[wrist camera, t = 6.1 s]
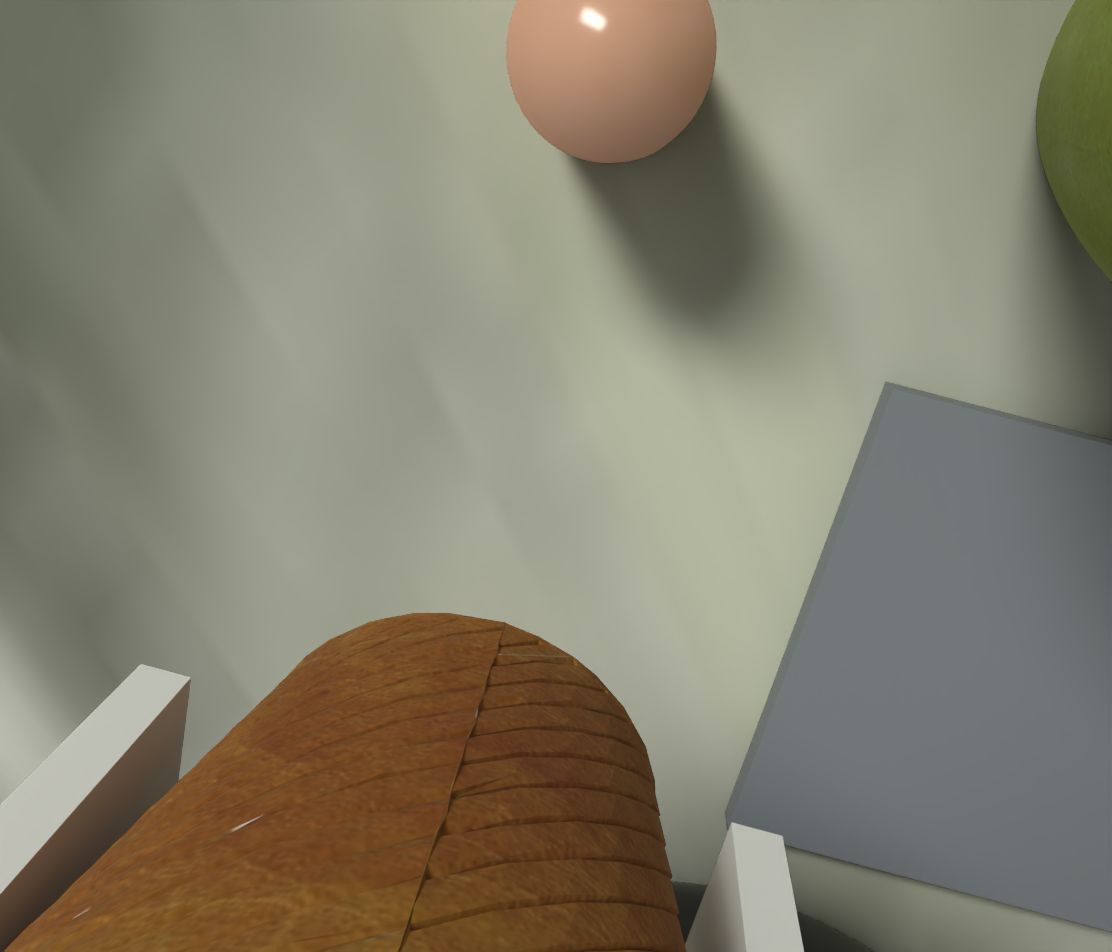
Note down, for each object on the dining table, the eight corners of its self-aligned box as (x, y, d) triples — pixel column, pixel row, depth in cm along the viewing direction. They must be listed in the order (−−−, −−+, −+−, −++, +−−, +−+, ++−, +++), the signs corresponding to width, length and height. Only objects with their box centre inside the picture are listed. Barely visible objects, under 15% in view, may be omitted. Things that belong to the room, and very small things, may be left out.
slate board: (885, 381, 31) (892, 388, 30) (1356, 504, 31) (1378, 515, 30) (725, 812, 37) (727, 829, 36) (1118, 917, 37) (1131, 937, 36)
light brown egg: (560, -32, 28) (532, -90, 22) (721, 9, 28) (743, -37, 22) (522, 140, 30) (486, 135, 23) (675, 179, 30) (682, 185, 23)
